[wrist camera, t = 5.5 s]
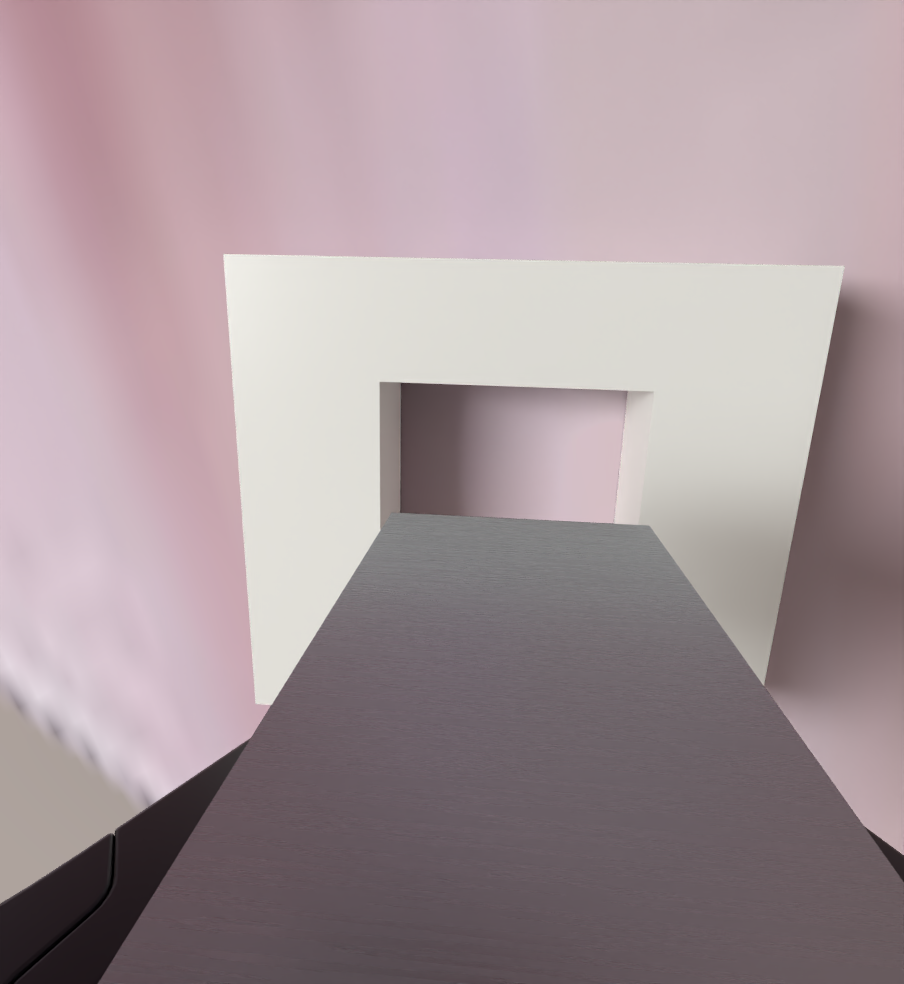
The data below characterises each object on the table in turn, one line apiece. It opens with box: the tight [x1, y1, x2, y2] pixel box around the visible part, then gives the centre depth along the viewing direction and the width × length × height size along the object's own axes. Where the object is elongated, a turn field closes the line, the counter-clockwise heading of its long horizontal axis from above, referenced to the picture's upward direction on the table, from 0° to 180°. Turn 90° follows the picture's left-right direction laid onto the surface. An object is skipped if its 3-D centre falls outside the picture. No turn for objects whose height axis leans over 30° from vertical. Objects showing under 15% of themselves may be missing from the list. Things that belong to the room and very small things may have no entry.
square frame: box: [223, 254, 845, 705], centre depth 19 cm, size 16×14×4 cm
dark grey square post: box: [98, 513, 904, 984], centre depth 7 cm, size 4×4×8 cm
